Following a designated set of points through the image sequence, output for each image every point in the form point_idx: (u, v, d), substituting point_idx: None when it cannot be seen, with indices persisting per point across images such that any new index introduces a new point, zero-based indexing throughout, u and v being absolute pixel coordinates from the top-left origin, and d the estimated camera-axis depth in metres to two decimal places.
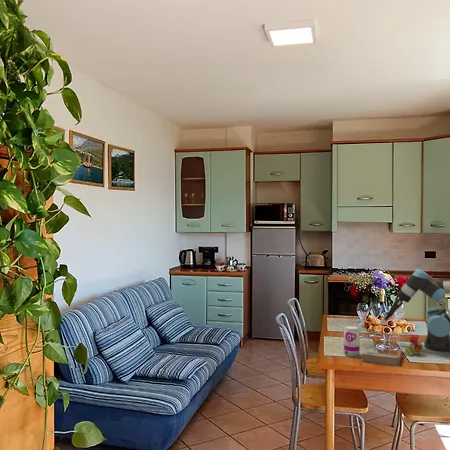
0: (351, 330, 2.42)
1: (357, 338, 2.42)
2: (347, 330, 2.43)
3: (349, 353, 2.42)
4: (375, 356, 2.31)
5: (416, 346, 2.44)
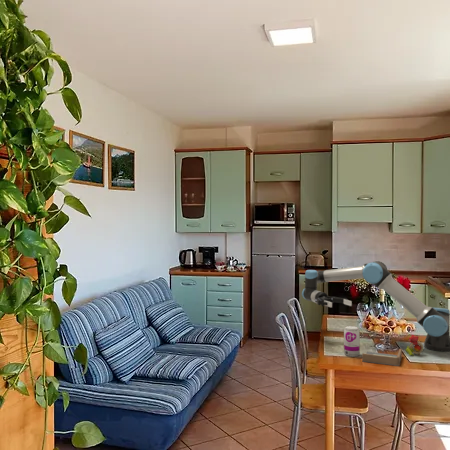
0: (351, 330, 2.42)
1: (357, 338, 2.42)
2: (347, 330, 2.43)
3: (349, 353, 2.42)
4: (375, 356, 2.31)
5: (416, 346, 2.44)
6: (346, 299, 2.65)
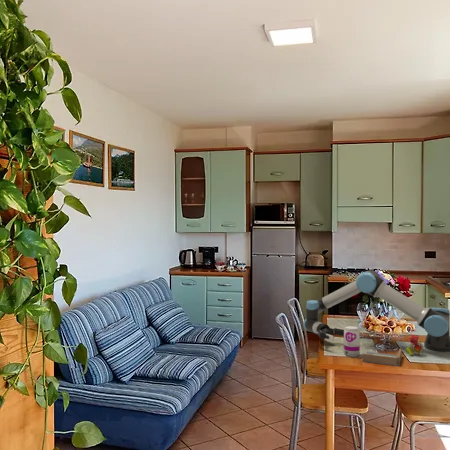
0: (351, 330, 2.42)
1: (357, 338, 2.42)
2: (347, 330, 2.43)
3: (349, 353, 2.42)
4: (375, 356, 2.31)
5: (416, 346, 2.44)
6: None
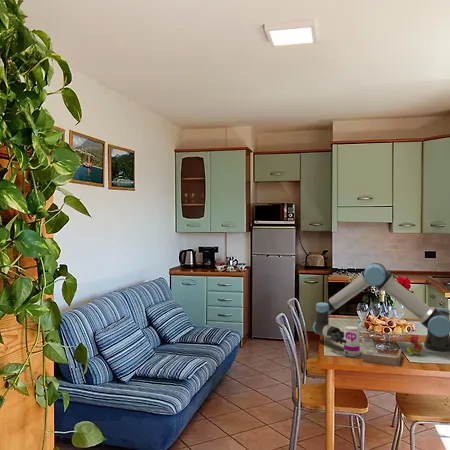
0: (351, 330, 2.42)
1: (357, 338, 2.42)
2: (347, 330, 2.43)
3: (349, 353, 2.42)
4: (375, 356, 2.31)
5: (416, 346, 2.44)
6: None
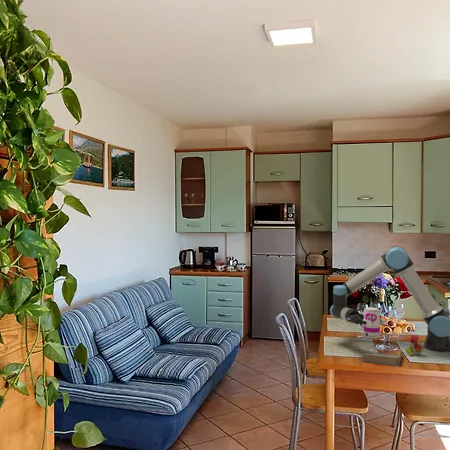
0: (371, 311, 2.36)
1: (377, 319, 2.36)
2: (367, 311, 2.37)
3: (369, 335, 2.36)
4: (375, 356, 2.31)
5: (416, 346, 2.44)
6: None
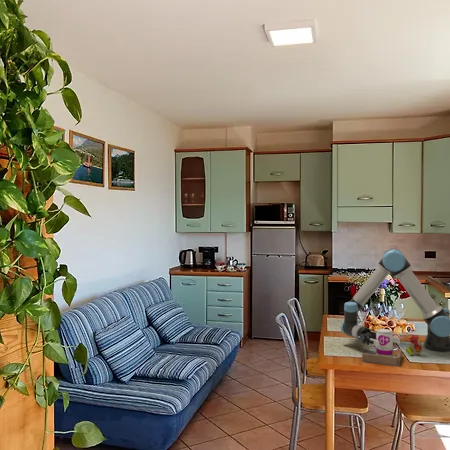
0: (384, 333, 2.33)
1: (390, 341, 2.33)
2: (380, 333, 2.34)
3: None
4: (375, 356, 2.31)
5: (416, 346, 2.44)
6: None
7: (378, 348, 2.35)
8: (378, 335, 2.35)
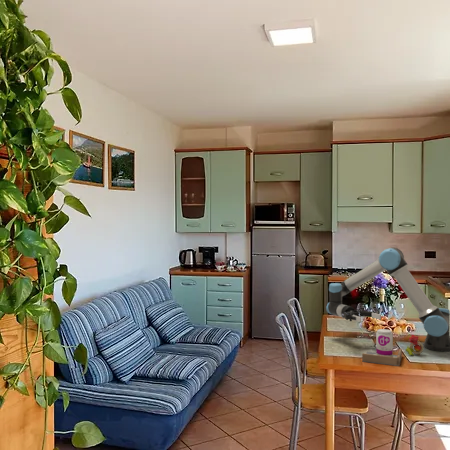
0: (384, 333, 2.33)
1: (390, 342, 2.33)
2: (380, 333, 2.34)
3: None
4: (375, 356, 2.31)
5: (416, 346, 2.44)
6: (374, 312, 2.56)
7: (378, 348, 2.35)
8: (378, 335, 2.35)
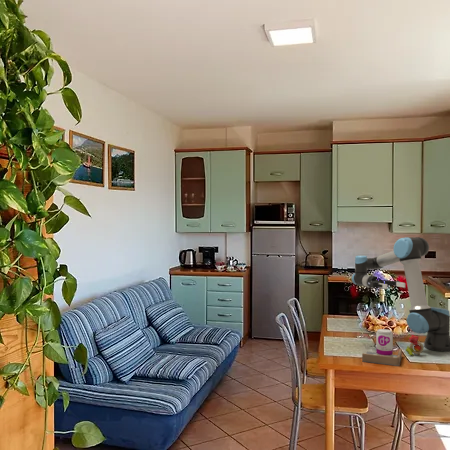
0: (384, 333, 2.33)
1: (390, 342, 2.33)
2: (380, 333, 2.34)
3: None
4: (375, 356, 2.31)
5: (416, 346, 2.44)
6: (398, 282, 2.74)
7: (378, 348, 2.35)
8: (378, 335, 2.35)
